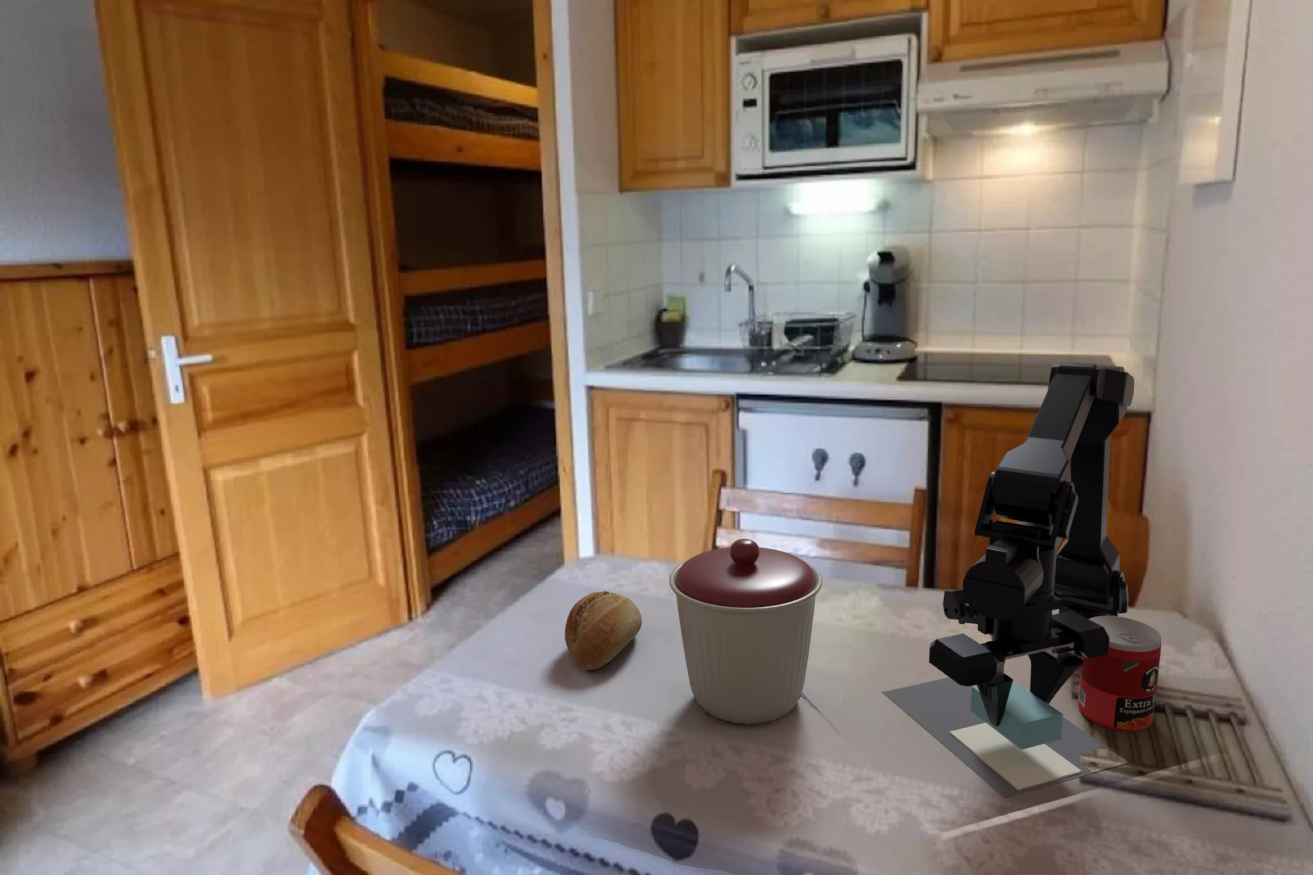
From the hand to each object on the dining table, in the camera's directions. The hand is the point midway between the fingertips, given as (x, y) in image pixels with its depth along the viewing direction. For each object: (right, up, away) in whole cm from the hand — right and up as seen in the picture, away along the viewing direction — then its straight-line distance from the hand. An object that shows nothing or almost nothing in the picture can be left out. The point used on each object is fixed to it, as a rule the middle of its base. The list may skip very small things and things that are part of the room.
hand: (1014, 719), depth 93 cm
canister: (-27, -3, +14) cm, 31 cm away
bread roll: (-46, 0, +28) cm, 54 cm away
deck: (0, -1, 0) cm, 1 cm away
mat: (0, -3, +6) cm, 7 cm away
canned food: (+15, -2, +8) cm, 17 cm away
